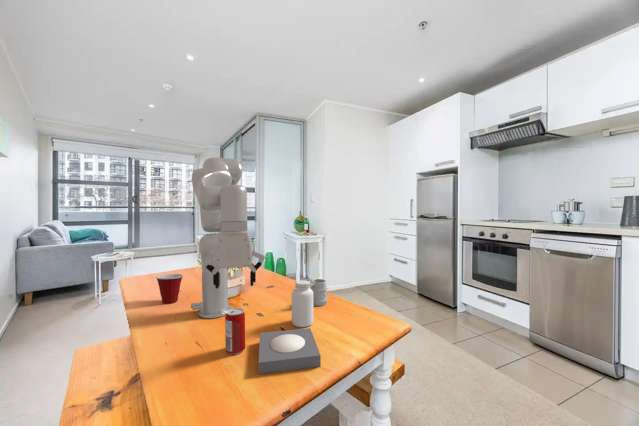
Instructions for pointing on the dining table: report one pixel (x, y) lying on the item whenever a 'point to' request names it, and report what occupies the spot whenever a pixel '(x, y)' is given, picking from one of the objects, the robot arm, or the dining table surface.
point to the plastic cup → (169, 287)
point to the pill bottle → (302, 304)
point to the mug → (319, 292)
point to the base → (287, 351)
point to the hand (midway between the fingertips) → (235, 285)
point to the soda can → (235, 330)
